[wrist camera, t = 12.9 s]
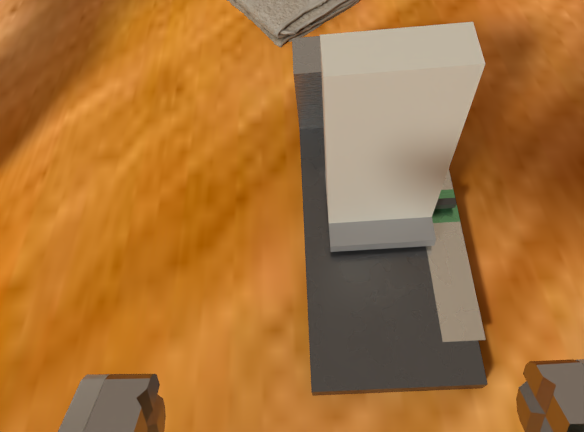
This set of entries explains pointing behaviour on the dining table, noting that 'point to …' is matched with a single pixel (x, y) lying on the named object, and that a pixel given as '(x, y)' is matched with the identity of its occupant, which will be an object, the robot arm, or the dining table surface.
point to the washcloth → (290, 15)
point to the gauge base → (381, 285)
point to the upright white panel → (393, 129)
